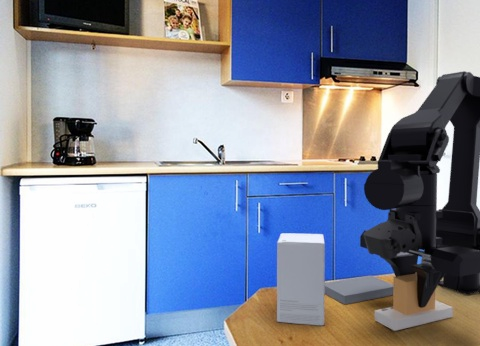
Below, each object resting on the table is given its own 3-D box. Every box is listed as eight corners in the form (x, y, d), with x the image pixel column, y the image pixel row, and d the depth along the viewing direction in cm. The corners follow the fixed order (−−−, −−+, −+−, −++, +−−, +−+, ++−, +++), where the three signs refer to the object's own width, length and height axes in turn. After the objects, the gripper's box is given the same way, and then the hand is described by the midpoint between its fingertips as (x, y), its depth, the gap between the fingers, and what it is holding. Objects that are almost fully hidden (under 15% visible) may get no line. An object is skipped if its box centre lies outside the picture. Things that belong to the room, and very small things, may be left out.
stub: (430, 307, 62) (431, 268, 62) (452, 316, 59) (453, 275, 59) (374, 320, 58) (374, 278, 58) (394, 330, 54) (395, 286, 54)
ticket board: (370, 282, 76) (370, 275, 76) (397, 294, 69) (397, 286, 69) (320, 291, 71) (320, 283, 71) (344, 304, 64) (344, 295, 64)
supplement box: (325, 326, 56) (325, 243, 56) (275, 322, 58) (275, 241, 57) (324, 307, 63) (324, 233, 63) (280, 304, 65) (280, 231, 64)
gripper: (334, 200, 63) (334, 291, 64) (429, 215, 46) (427, 341, 47) (385, 196, 67) (384, 282, 68) (489, 210, 50) (487, 324, 51)
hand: (414, 303), depth 58 cm, fingers closed on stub, 2 cm apart
